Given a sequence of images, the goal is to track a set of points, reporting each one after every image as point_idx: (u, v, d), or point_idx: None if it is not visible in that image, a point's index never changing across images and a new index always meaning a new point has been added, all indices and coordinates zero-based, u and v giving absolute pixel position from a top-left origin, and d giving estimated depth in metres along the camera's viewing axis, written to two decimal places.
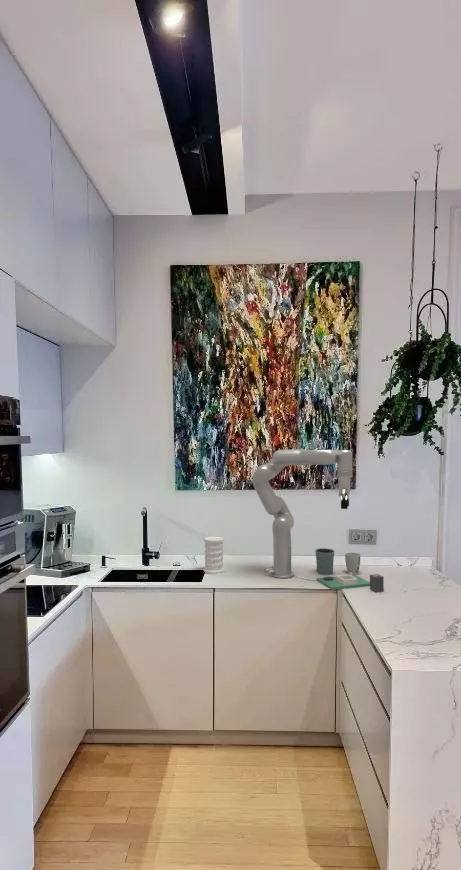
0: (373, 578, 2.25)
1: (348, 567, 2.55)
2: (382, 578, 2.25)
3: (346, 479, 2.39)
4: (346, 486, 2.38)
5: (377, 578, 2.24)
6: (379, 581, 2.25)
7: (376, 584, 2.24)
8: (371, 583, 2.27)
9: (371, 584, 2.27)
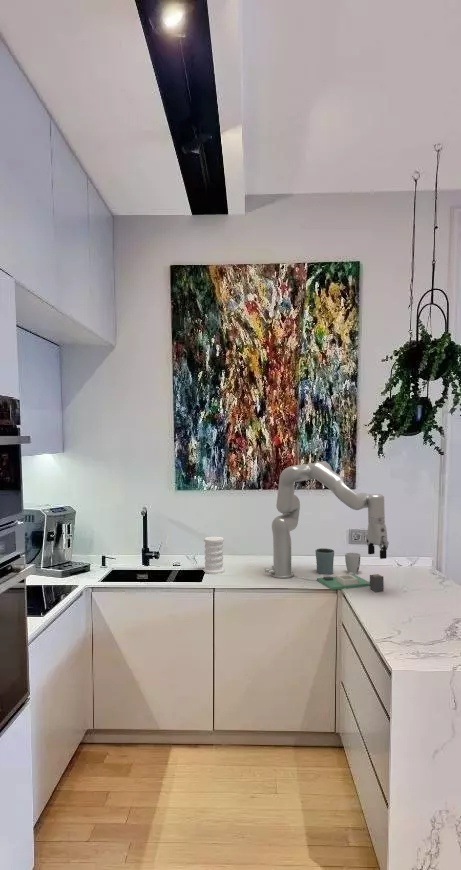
0: (373, 578, 2.25)
1: (348, 567, 2.55)
2: (382, 578, 2.25)
3: None
4: None
5: (377, 578, 2.24)
6: (379, 581, 2.25)
7: (376, 584, 2.24)
8: (371, 583, 2.27)
9: (371, 584, 2.27)
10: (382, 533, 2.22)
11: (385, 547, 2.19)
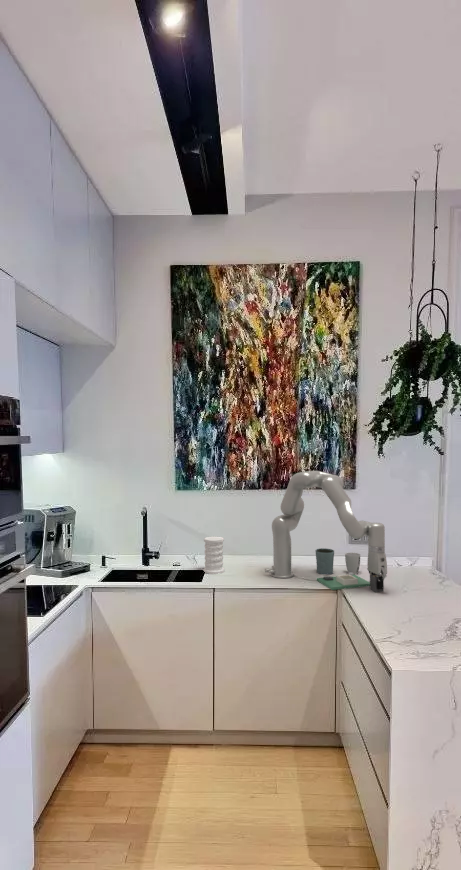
0: (373, 578, 2.25)
1: (348, 567, 2.55)
2: None
3: None
4: None
5: None
6: None
7: (376, 584, 2.24)
8: (371, 583, 2.27)
9: (371, 584, 2.27)
10: (382, 563, 2.22)
11: (382, 578, 2.22)
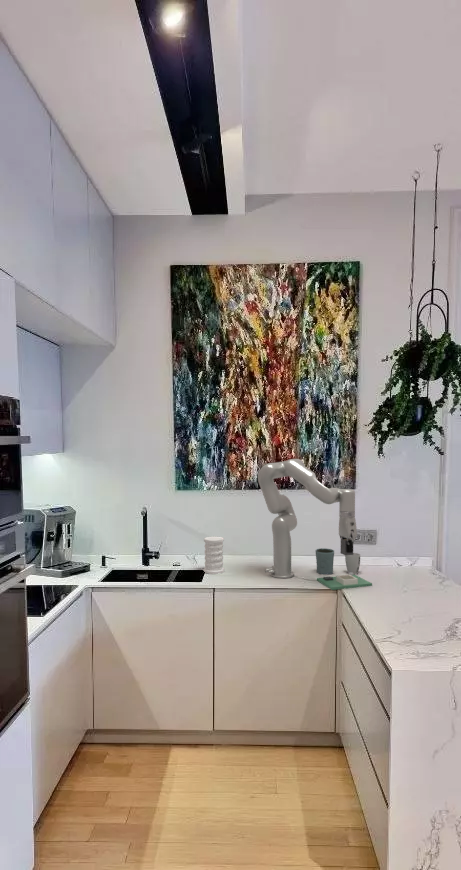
0: (343, 542, 2.34)
1: (348, 567, 2.55)
2: None
3: None
4: None
5: None
6: None
7: None
8: (341, 547, 2.36)
9: (341, 548, 2.36)
10: (352, 527, 2.31)
11: (351, 542, 2.31)
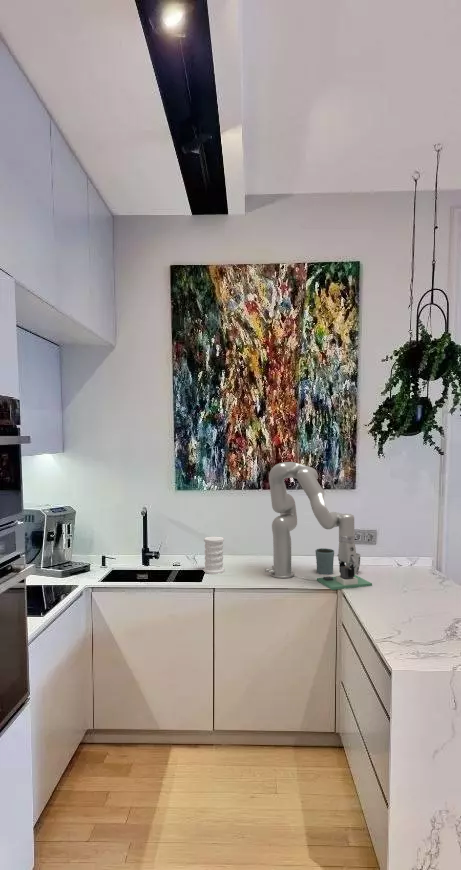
0: (343, 569, 2.34)
1: None
2: None
3: None
4: None
5: (347, 569, 2.33)
6: None
7: (346, 575, 2.33)
8: (341, 574, 2.36)
9: (341, 575, 2.36)
10: (351, 552, 2.31)
11: (353, 566, 2.29)
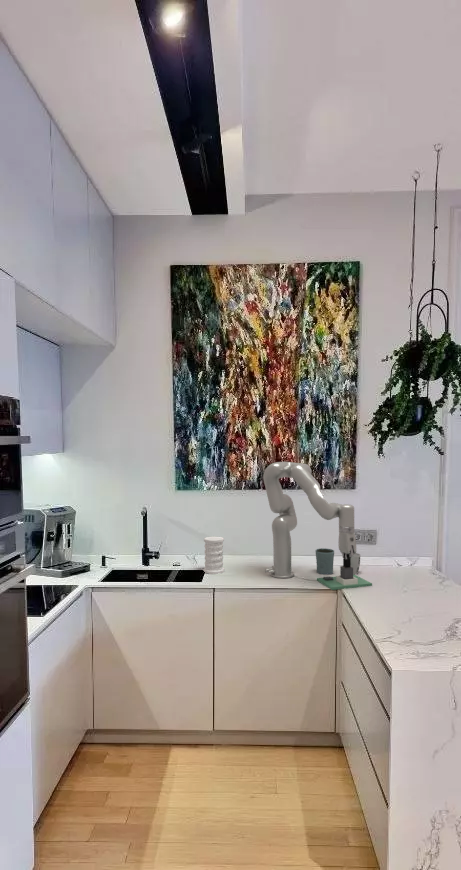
0: (343, 569, 2.34)
1: None
2: (352, 569, 2.34)
3: None
4: None
5: (347, 569, 2.33)
6: (348, 572, 2.34)
7: (346, 575, 2.33)
8: (341, 574, 2.36)
9: (341, 575, 2.36)
10: (351, 542, 2.31)
11: (348, 556, 2.33)
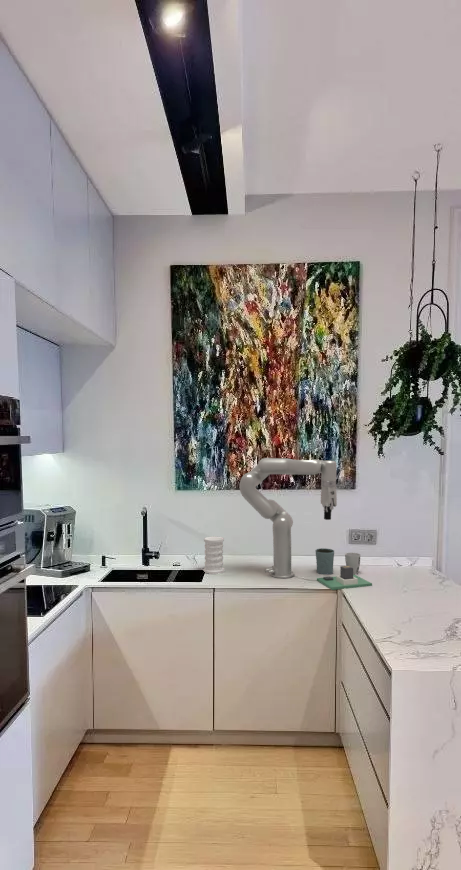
0: (343, 569, 2.34)
1: None
2: (352, 569, 2.34)
3: None
4: None
5: (347, 569, 2.33)
6: (348, 572, 2.34)
7: (346, 575, 2.33)
8: (341, 574, 2.36)
9: (341, 575, 2.36)
10: (332, 495, 2.43)
11: (329, 509, 2.45)
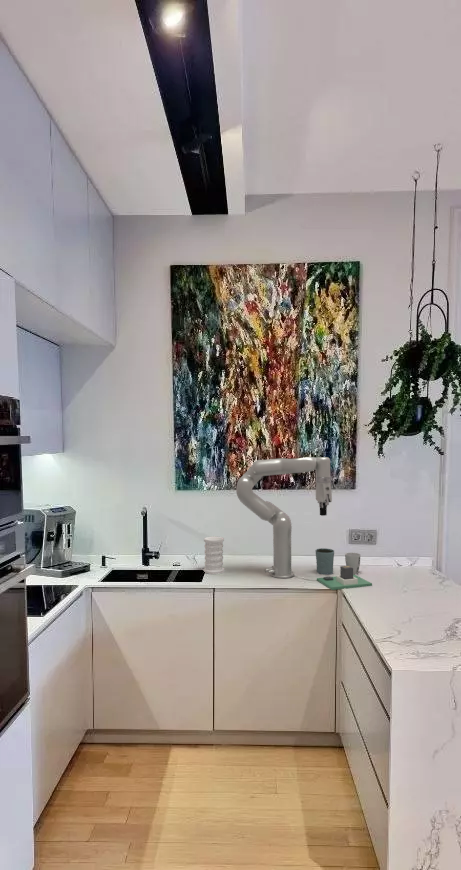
0: (343, 569, 2.34)
1: None
2: (352, 569, 2.34)
3: None
4: None
5: (347, 569, 2.33)
6: (348, 572, 2.34)
7: (346, 575, 2.33)
8: (341, 574, 2.36)
9: (341, 575, 2.36)
10: (327, 491, 2.47)
11: None
